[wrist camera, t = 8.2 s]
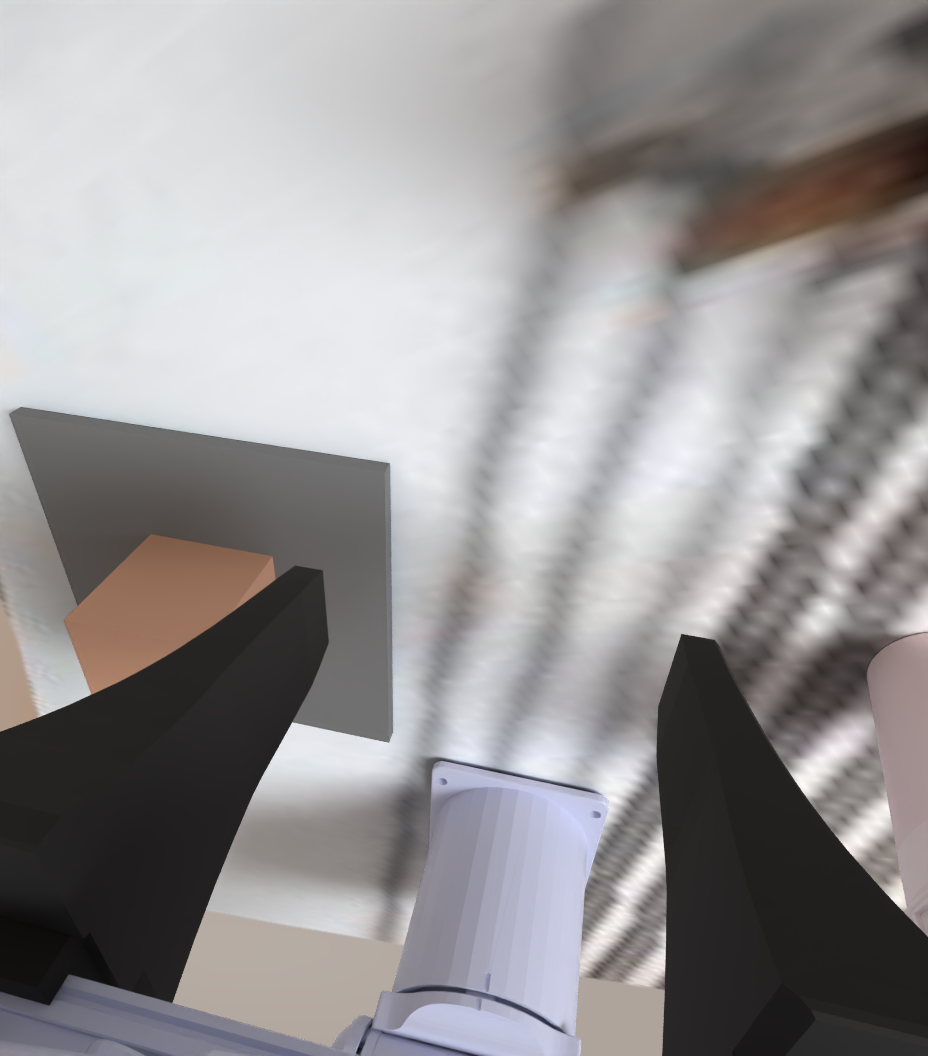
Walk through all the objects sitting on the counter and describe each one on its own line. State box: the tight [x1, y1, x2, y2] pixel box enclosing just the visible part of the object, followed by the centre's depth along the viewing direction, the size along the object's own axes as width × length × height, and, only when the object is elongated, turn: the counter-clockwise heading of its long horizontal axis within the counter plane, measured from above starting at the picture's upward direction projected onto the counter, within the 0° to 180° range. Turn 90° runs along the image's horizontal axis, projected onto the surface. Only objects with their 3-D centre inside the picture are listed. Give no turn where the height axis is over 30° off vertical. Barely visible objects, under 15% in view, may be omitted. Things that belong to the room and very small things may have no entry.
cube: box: [64, 534, 276, 694], centre depth 26 cm, size 5×5×5 cm
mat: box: [9, 407, 393, 742], centre depth 28 cm, size 14×14×1 cm
